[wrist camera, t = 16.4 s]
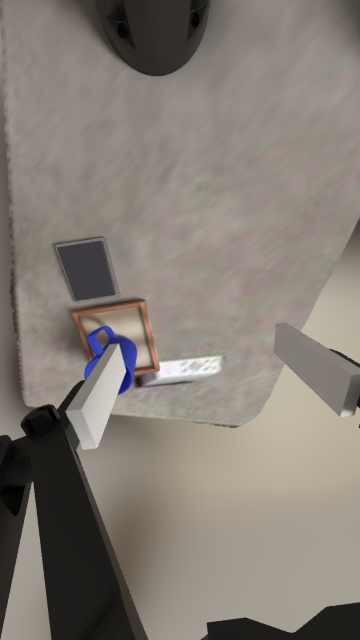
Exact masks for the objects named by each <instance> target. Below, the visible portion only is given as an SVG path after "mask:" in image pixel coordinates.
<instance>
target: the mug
mask: <svg viewBox="0 0 360 640" xmlns="http://www.w3.org/2000/svg"><path fill="white" fill-rule="evenodd" d="M102 330H105V331H106V333H107V334H108V336H109V342H108V343H107V344H106V345H105V346H104V348H103V349H102V348H101V346H100V344H99V342H98V340H97V338H96V335H97V334H98V333H99V332H101V331H102ZM87 340H88V342H89V345H90V346H91V348H92V350H93V352H94V353H95V354H96V356H95V357H94V358H93V359H92V360H91V361H90V362H89V363H88V365H87V366H86V369H85V373H84V376H85V380H86V379H87V378H88V376H89V375H90V373H91V372H92V370H93V369H94V367H95V366H96V364H97V363H98V361H99V360H100V358H101V357H102V355H103V354H104V352H105V351H106V349H107V348H108V346H109V345H110V344H118V343H119V346H120V350H121V353H122V357H123V361H124V365H125V368H126V373H125V375H124V378H123V381H122V383H121V386H120V389H119V391H118V394H117V395H119V394H122V393H124V392H125V391H127V390H128V389H129V387H130V386H131V384H132V382H133V376H134V371H135V365H136V360H137V348H136V346H135V344H134V343H133V342H132V341H131V340H129V339H127V338H122V337H120V338H115V335H114V332H113V330H112V329H111V328H110V327H109V326H103V327H100V328H98V329H96V330H94V331H93V332H92V333H90V334H89V335H88V336H87Z"/></svg>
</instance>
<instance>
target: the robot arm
mask: <svg viewBox="0 0 360 640" xmlns="http://www.w3.org/2000/svg"><path fill="white" fill-rule="evenodd" d="M95 2H96V5H97V8H98V12H99V15H100V19H101V22H102V25H103V27H104V30H105V32H106V34H107V36H108V38H109V40H110V42H111V44H112V45H113V47H114V48H115V50H116V51H117V52H118V54H119V55H120V56H121V57H122V58H123V59H124V60H125V61H126V62H127V63H128V64H129V65H130V66H132V67H133V68H135V69H136V70H138V71H140V72H142V73H145V74H148V75H155V76H161V75H167V74H170V73H172V72H175V71H176V70H178V69H180V68H181V67H182V66H183V65H185V64H186V63H187V62H188V61H189V59H190V58H191V57H192V56H193V54H194V53H195V51H196V49H197V48H198V46H199V44H200V42H201V39H202V37H203V34H204V31H205V27H206V23H207V18H208V12H209V6H210V0H95ZM274 353H275V354H276V355H277V356H278V357H279V358H280V359H281V360H282V361H283V362H284V363H285V364H286V365H287V366H288V367H289V368H290V369H291V370H293V372H295V373H296V374H297V375H298V376H299V377H300V378H301V379H302V380H303V381H304V382H305V383H306V384H307V385H308V386H309V387H310V388H311V389H312V390H313V391H314V392H315V393H316V394H317V395H318V396H319V397H320V398H321V399H322V400H324V402H326V404H328V405H329V407H331V408H332V409H333V410H334V411H335V412H336V413H337V414H338V415H339V416H340V417H343V416H351V415H354V414H355V411H356V408H357V406H358V407H359V408H360V364H359V363H357V362H355V361H354V360H352V359H350V358H348V357H347V356H345V355H344V354H342V353H340V352H338V351H335V350H332V349H328V348H326V347H324V346H323V345H321V344H320V343H318V342H316V341H314V340H313V339H311V338H310V337H308V336H306V335H305V334H303V333H302V332H300V331H298V330H297V329H295V328H293V327H292V326H290V325H289V324H287V323H277V324H276V331H275V343H274ZM125 373H126V368H125V365H124V361H123V357H122V353H121V350H120V346H119V343H118V344H110V345H109V346H108V348H107V349H106V351H105V352H104V354H103V355H102V357H101V358H100V360H99V361H98V363H97V364H96V366H95V367H94V369H93V370H92V372H91V373H90V375H89V376H88V378H87V379H86V380H82V381H80V382H79V383H77V384H76V385H75V386H74V387H73V388H72V390H71V391H70V392H69V394H68V395H67V397H66V399H64V401H63V402H62V404H61V405H60V406H59V408H58V409H57V410H56V408H55V407H54V406H53V405H50V404H48V405H43V406H41V407H38V408H36V409H35V410H33V411H32V412H30V413H29V414H28V415H27V416H25V418H24V419H23V420H22V422H21V427H22V429H23V430H24V432H25V434H26V435H27V436H24V437H22V438H19V439H16V440H14V441H12V440H11V438H10V437H9V436H8V435H2V436H0V638H1V633H2V628H3V623H4V618H5V613H6V608H7V603H8V598H9V593H10V588H11V583H12V578H13V573H14V568H15V563H16V558H17V554H18V548H19V544H20V539H21V533H22V528H23V524H24V518H25V514H26V509H27V504H28V499H29V494H30V489H31V483H32V482H33V483H34V492H35V501H36V508H37V517H38V527H39V535H40V544H41V553H42V561H43V570H44V578H45V587H46V596H47V604H48V612H49V622H50V630H51V639H52V640H148V637H147V635H146V633H145V630H144V628H143V626H142V623H141V621H140V618H139V616H138V613H137V610H136V608H135V605H134V602H133V600H132V597H131V594H130V592H129V589H128V586H127V584H126V581H125V578H124V576H123V573H122V570H121V568H120V565H119V563H118V560H117V557H116V554H115V552H114V549H113V546H112V544H111V541H110V539H109V536H108V533H107V531H106V528H105V525H104V523H103V520H102V518H101V515H100V512H99V509H98V507H97V504H96V501H95V499H94V496H93V493H92V491H91V488H90V485H89V483H88V480H87V478H86V475H85V472H84V470H83V467H82V464H81V462H80V459H79V456H78V454H77V452H76V449H77V447H78V445H79V443H80V444H81V446H82V449H83V450H85V449H92V448H97V447H98V444H99V442H100V439H101V437H102V434H103V431H104V429H105V426H106V423H107V421H108V418H109V415H110V413H111V410H112V407H113V405H114V402H115V399H116V397H117V394H118V391H119V389H120V386H121V383H122V381H123V378H124V375H125ZM359 428H360V425H359ZM207 630H208V634H207V635H206V636H205V637H204V638H202V639H201V640H360V602H359V603H351V604H344V605H338V606H337V605H336V606H329V607H326V608H324V609H323V610H322V611H321V612H320V613H318V614H317V615H316V616H315V617H313V618H312V619H311V620H310V621H308V622H307V623H306V624H305V625H303V626H302V627H301V628H300V629H299V630H297V631H296V632H294V633H289V632H286V631H283V630H280V629H277V628H274V627H272V626H268V625H266V624H263V623H260V622H257V621H254V620H251V619H248V618H238V619H231V620H223V621H216V622H208V623H207Z"/></svg>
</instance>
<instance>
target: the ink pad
mask: <svg viewBox="0 0 360 640" xmlns="http://www.w3.org/2000/svg"><path fill="white" fill-rule="evenodd" d="M55 248H56V250H57V253H58V256H59V259H60V262H61V264H62V267H63V270H64V273H65V276H66V278H67V281H68V284H69V287H70V290H71V292H72V295H73V298H74V301H75V303H81V302H87V301H94V300H100V299H107V298H113V297H119V296H120V292H119V288H118V284H117V281H116V277H115V273H114V269H113V265H112V262H111V258H110V254H109V250H108V247H107V243H106V239H105V238H104V237H103V238H97V239H90V240H84V241H77V242H71V243H65V244H58V245H55Z"/></svg>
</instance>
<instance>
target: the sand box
mask: <svg viewBox="0 0 360 640" xmlns="http://www.w3.org/2000/svg"><path fill="white" fill-rule="evenodd" d="M72 315H73V318H74V320H75V323H76V326H77V328H78V331H79V334H80V337H81V339H82V342H83V345H84V347H85V350H86V353H87V355H88V358H89V361H91V360H92V359H93V358H94V357H95V356H96V354H95V353H94V352H93V350H92V348H91V346H90V345H89V342H88V340H87V336H88V335H89V334H90V333H92V332H93V331H94V330H96V329H98V328H100V327H103V326H109V327H110V328H111V329H112V330H113V332H114V335H115V338H120V337H122V338H127V339H129V340H131V341H132V342H133V343H134V344H135V346H136V348H137V360H136V365H135V371H134V375H138V374H145V373H151V372H157V371H159V370H160V365H159V361H158V356H157V352H156V347H155V343H154V338H153V333H152V329H151V324H150V320H149V315H148V310H147V306H146V301H145V300H142V301H136V302H129V303H123V304H117V305H110V306H104V307H98V308H91V309H85V310H79V311H75V312H73V313H72ZM96 338H97V340H98V342H99V344H100V346H101V348H102V349H103V348H104V346H105V345H106V344H107V343H108V342H109V336H108V334H107V333H106V331H105V330H102V331H101V332H99V333H98V334H97V335H96Z"/></svg>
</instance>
